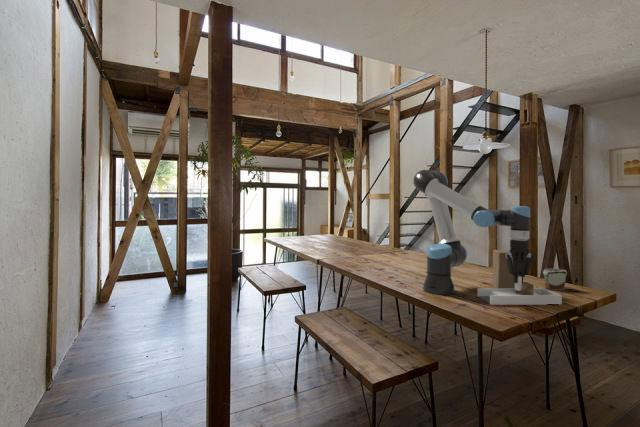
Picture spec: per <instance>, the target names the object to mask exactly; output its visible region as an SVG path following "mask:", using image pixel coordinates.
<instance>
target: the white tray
mask: <svg viewBox="0 0 640 427" xmlns="http://www.w3.org/2000/svg"><path fill="white" fill-rule="evenodd" d="M476 290H477V291H476V292H477V294H476V296H477V298H479V299H481V300H483V301H484V302H485V303H488V304H489V305H490V306H491V305H493V306H497V305H498V306H499V305H502V306H505V305H506V306H509V305H510V306H511V305H513V306H514V305H517V306H519V305H522V306H525V305H528V306H529V305H533V306H534V305H542V306H544V305H547V304H559V305H562V303H563V296H562V295H561V294H559V293H556V292H553V291H552V290H547V289H545V288H543V287H540V288H539V287H537V288H536V287H534V289H533V295H520V294H518V293H516V289H515V288H494V287H493V288H492V287H491V288H490V287H488V288H487V287H480V288H479V287H478V288H477V289H476Z"/></svg>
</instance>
